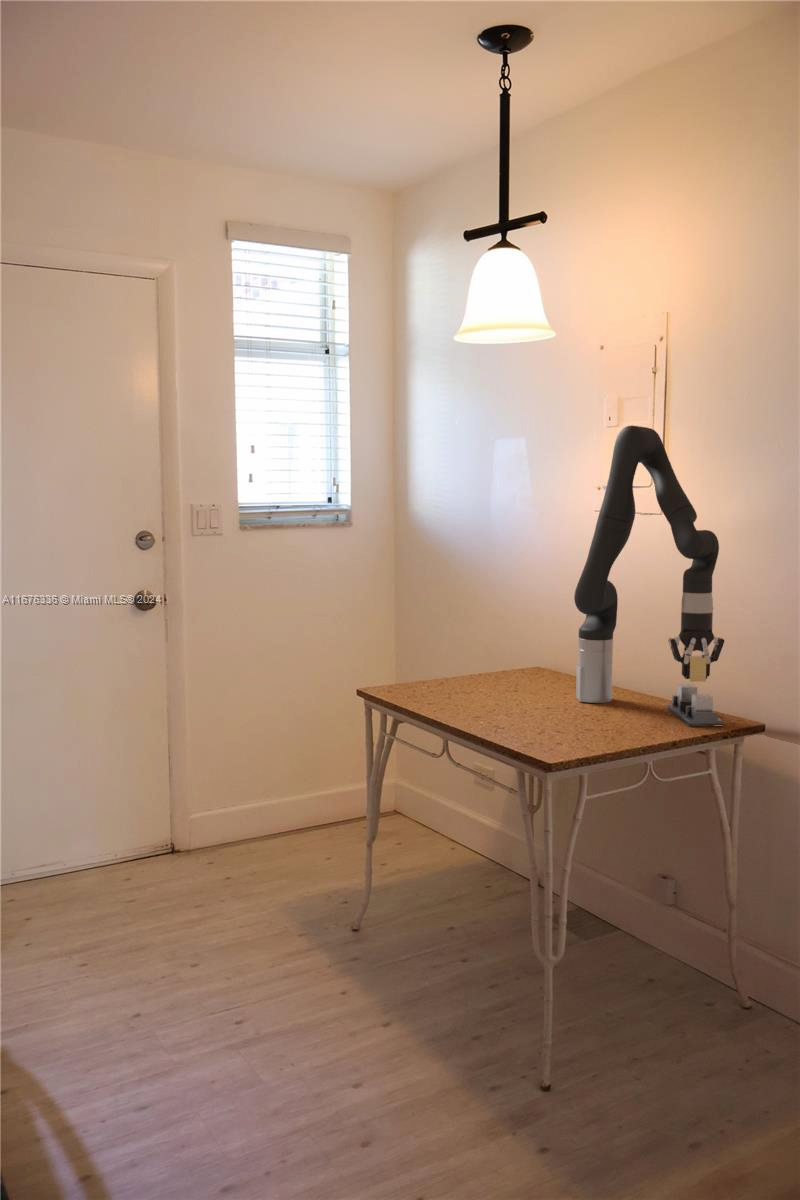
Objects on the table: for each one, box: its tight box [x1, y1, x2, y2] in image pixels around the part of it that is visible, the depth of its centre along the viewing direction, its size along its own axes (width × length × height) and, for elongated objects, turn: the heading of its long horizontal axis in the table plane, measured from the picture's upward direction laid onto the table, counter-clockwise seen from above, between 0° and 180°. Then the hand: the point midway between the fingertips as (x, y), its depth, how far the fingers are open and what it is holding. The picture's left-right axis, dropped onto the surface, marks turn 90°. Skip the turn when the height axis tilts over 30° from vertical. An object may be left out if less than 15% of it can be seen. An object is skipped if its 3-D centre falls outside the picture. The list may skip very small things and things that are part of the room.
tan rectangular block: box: [685, 654, 707, 683], centre depth 248 cm, size 4×4×6 cm
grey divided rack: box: [666, 683, 724, 728], centre depth 249 cm, size 8×21×7 cm, turn 179°
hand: (695, 677), depth 248 cm, fingers closed on tan rectangular block, 4 cm apart
